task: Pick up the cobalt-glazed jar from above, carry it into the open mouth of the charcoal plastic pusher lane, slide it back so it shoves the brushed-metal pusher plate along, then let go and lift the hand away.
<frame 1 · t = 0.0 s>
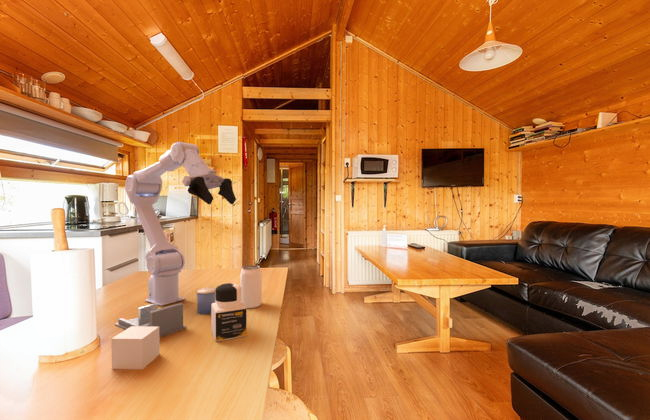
hand: (222, 201, 86), 32 cm above the table, tool tilted 50°, fingers open, 7 cm apart
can: (251, 306, 98), on the table
pusher plate: (148, 314, 81), point 3 cm above the table, slide at 0.0 cm
pale pink cube: (136, 362, 63), on the table
jar: (206, 311, 92), on the table
medicine bottle: (228, 334, 77), on the table
pusher lane: (150, 326, 81), on the table
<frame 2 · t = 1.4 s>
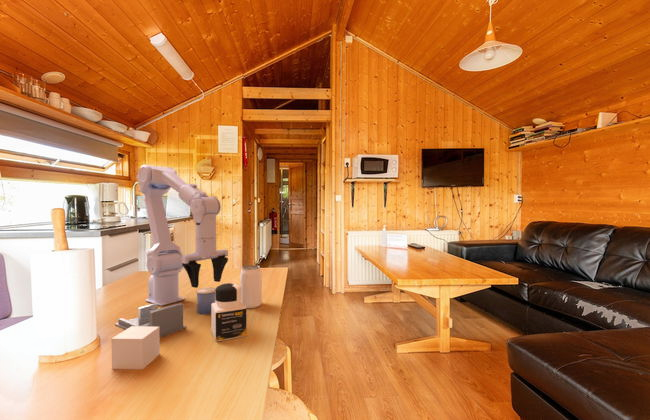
hand: (206, 284, 92), 8 cm above the table, tool pointing down, fingers open, 7 cm apart
nothing on the table moved.
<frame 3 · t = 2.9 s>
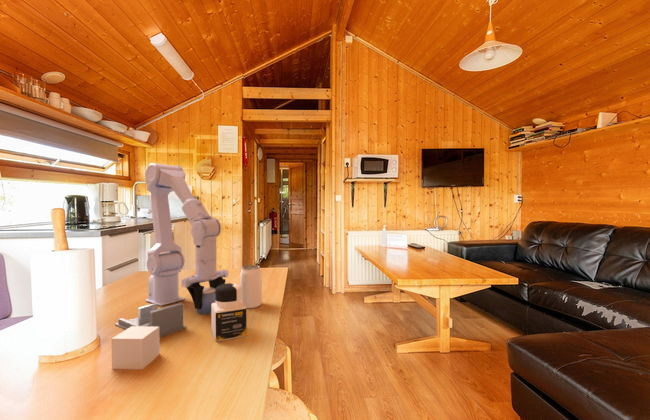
hand: (206, 305, 92), 2 cm above the table, tool pointing down, fingers closed on jar, 5 cm apart
jar: (206, 311, 92), on the table, touching gripper
everything else where it was.
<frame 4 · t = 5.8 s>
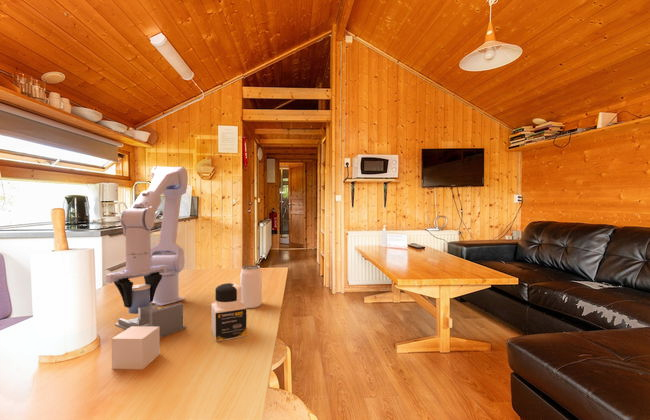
hand: (138, 303, 84), 5 cm above the table, tool pointing down, fingers closed on jar, 5 cm apart
jar: (139, 310, 84), point 3 cm above the table, touching gripper
everything else where it was.
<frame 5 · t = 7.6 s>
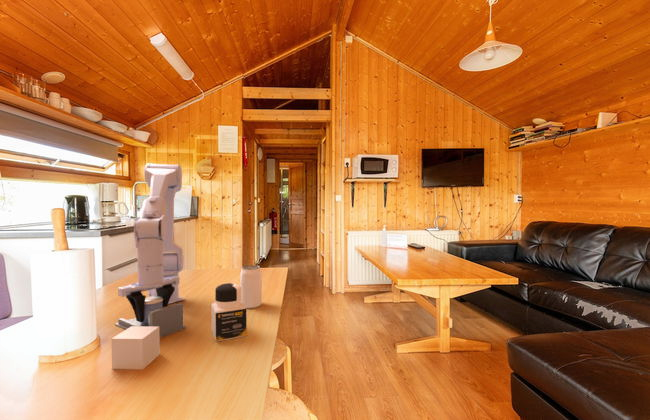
hand: (151, 317, 81), 2 cm above the table, tool pointing down, fingers closed on jar, 5 cm apart
pusher plate: (158, 317, 79), point 3 cm above the table, slide at 4.7 cm, touching jar
jar: (151, 324, 81), point 1 cm above the table, touching gripper, pusher plate
everything else where it was.
when the fingers open (2 cm above the table, at t = 8.9 s): jar stays where it is, resting on pusher lane.
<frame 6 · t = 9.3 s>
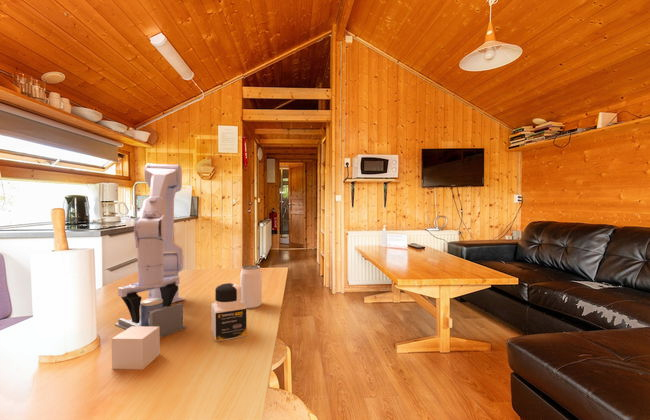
hand: (151, 317, 81), 2 cm above the table, tool pointing down, fingers open, 7 cm apart
pusher plate: (158, 317, 79), point 3 cm above the table, slide at 4.8 cm
jar: (151, 325, 81), resting on pusher lane
everything else where it was.
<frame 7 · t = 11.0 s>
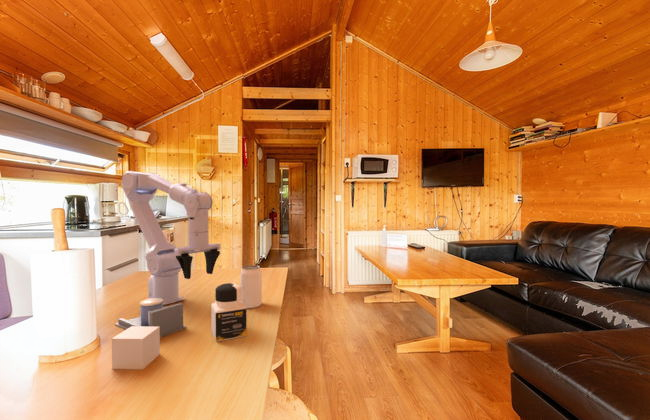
hand: (198, 275, 96), 9 cm above the table, tool pointing down, fingers open, 7 cm apart
nothing on the table moved.
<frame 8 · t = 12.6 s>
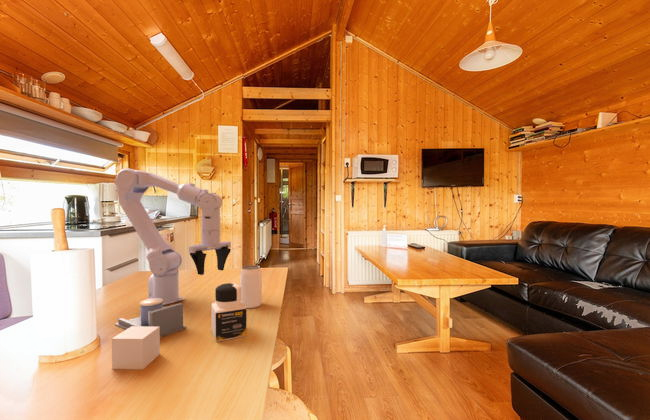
hand: (211, 272, 102), 9 cm above the table, tool pointing down, fingers open, 7 cm apart
nothing on the table moved.
at the end: jar 0.2 cm off-centre on the pusher lane, point 0.3 cm above the pusher lane's base; jar tilted 0°; pusher plate slide at 4.8 cm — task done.
